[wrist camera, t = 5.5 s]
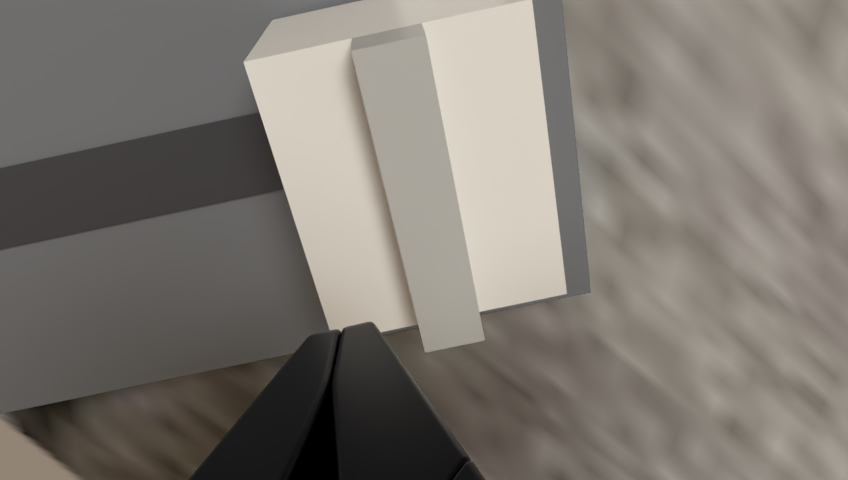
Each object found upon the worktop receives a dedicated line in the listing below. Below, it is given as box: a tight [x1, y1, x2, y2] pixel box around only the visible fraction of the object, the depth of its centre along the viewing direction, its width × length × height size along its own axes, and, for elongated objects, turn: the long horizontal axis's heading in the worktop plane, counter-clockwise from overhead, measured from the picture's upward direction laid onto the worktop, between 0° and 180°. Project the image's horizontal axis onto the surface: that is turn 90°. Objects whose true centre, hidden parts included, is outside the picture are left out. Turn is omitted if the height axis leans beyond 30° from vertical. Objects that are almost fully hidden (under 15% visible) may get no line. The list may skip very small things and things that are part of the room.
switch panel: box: [0, 0, 591, 414], centre depth 18 cm, size 12×18×3 cm, turn 101°
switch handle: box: [243, 0, 567, 353], centre depth 14 cm, size 6×5×5 cm
